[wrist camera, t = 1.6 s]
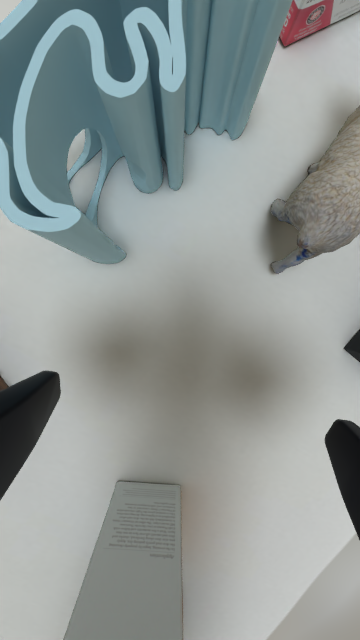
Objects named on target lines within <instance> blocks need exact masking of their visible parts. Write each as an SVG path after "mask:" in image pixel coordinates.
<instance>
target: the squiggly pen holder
mask: <svg viewBox="0 0 360 640" xmlns="http://www.w3.org/2000/svg"><path fill="white" fill-rule="evenodd" d="M292 1H293V0H22V1H21V2H20V3H19V4H18V6H17V7H16V8H15V9H14V10H13V11H12V12H11V13H10V14H9V15H8V16H7V17H6V18H5V19H4V20H3V21H2V22H1V23H0V208H1V210H2V211H3V213H4V214H5V215H6V216H7V218H8V219H9V220H10V221H11V222H13V223H15V224H17V225H18V226H20V227H22V228H25V229H27V230H29V231H31V232H33V233H35V234H37V235H39V236H41V237H44V238H46V239H48V240H50V241H52V242H54V243H56V244H58V245H60V246H63V247H65V248H67V249H69V250H71V251H73V252H75V253H77V254H79V255H82V256H84V257H86V258H88V259H90V260H92V261H94V262H97V263H104V264H113V263H118V262H120V261H122V260H123V259H124V258H125V257H126V253H125V252H124V251H123V250H122V249H121V248H120V247H119V246H117V245H115V244H114V243H113V241H112V240H111V239H110V238H109V237H108V236H107V235H105V234H104V233H103V232H102V231H101V230H100V229H99V228H98V227H97V206H98V200H99V196H100V192H101V189H102V186H103V184H104V181H105V179H106V177H107V175H108V172H109V170H110V169H111V167H112V166H113V165H114V163H115V162H116V161H117V160H118V159H119V158H120V157H122V156H125V157H126V160H127V163H128V166H129V170H130V174H131V177H132V179H133V182H134V184H135V186H136V187H137V188H138V189H139V190H140V191H142V192H144V193H152V192H155V191H156V190H157V189H158V188H159V187H160V186H161V184H162V180H163V169H162V161H161V157H162V158H163V159H164V161H165V162H166V164H167V168H168V179H169V186H170V188H171V189H173V190H178V189H179V188H180V186H181V184H182V182H183V161H184V131H185V132H186V133H187V134H191V133H193V132H194V130H195V128H196V126H197V124H198V122H199V127H200V128H208V127H210V128H212V129H214V130H215V132H216V133H217V134H218V135H221V134H222V133H223V131H224V130H227V131H228V133H229V135H230V138H231V139H232V140H235V139H236V138H238V137H239V136H240V135H241V134H242V132H243V130H244V128H245V126H246V124H247V121H248V118H249V116H250V113H251V110H252V108H253V105H254V102H255V100H256V97H257V94H258V92H259V89H260V86H261V84H262V81H263V78H264V76H265V73H266V70H267V68H268V65H269V62H270V60H271V57H272V54H273V52H274V49H275V46H276V44H277V41H278V38H279V36H280V33H281V30H282V28H283V25H284V22H285V20H286V17H287V14H288V12H289V9H290V6H291V4H292ZM83 129H85V145H84V149H83V152H82V154H81V155H80V157H79V158H78V160H77V161H76V162H75V164H74V165H73V167H72V168H71V169H70V170H69V171H68V172H67V158H68V151H69V148H70V145H71V143H72V141H73V139H74V137H75V136H76V135H77V134H78V133H79V132H80V131H82V130H83ZM101 148H102V159H101V168H100V173H99V178H98V181H97V184H96V187H95V190H94V193H93V196H92V199H91V201H90V203H89V206H88V209H87V211H86V213H85V215H84V214H83V213H82V212H81V211H80V210H79V209H78V208H76V207H75V205H74V202H73V199H72V195H71V192H70V188H69V182H70V180H71V178H72V177H73V175H74V174H75V173H76V172H77V171H78V170H79V169H80V168H81V167H82V166H83V165H84V164H86V163H87V162H88V161H89V160H90V159H91V158H92V157H93V156H95V155H96V154H97V153H98V152H99V151H100V149H101ZM73 170H74V171H73Z"/></svg>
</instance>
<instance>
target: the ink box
mask: <svg viewBox="0 0 360 640" xmlns="http://www.w3.org/2000/svg"><path fill="white" fill-rule="evenodd" d="M357 11H360V0H293V1H292V4H291V6H290V9H289V12H288V14H287V17H286V20H285V22H284V25H283V28H282V30H281V33H280V38H281V41H282V43H283V45H284V46H287V45H289V44H291V43H293V42H295V41H297V40H299V39H301V38H303V37H305V36H307V35H309V34H312V33H314V32H316V31H318V30H320V29H322V28H324V27H326V26H328V25H330V24H333V23H335V22H337V21H339V20H341V19H343V18H345V17H347V16H349V15H351V14H353V13H355V12H357Z"/></svg>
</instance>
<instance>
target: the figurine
mask: <svg viewBox="0 0 360 640" xmlns="http://www.w3.org/2000/svg"><path fill="white" fill-rule="evenodd" d="M308 174H309V175H308V176H307V178H306V179H305V180H304V181H303V182H302V183H301V184H300V185H299V186H298V188H297V189H296V190H295V191H294V192H293V193H292V194H291V196H290V197H289V199H288V200H287V201H286V204H285V202H284V201H283V200H282V199H276V200H275V201H274V202H273V203H272V206H271V207H272V209H271V212H272V214H273V215H274V216H276V217H277V218H278V220H279V221H286V222H287V223H289V224H293V225H294V226H295V227H296V228H297V229H298V230H299V231H300V232H299V234H298V238H297V245H298V246H299V247H298V248H297V249H296V250H294V251H293V252H292V253H290V254H289V255H288V256H287V257H285V258H284V259H282V260H281V261H279V262H277V261H275V262H273V263H272V264H271V266H272V267H273V269H274V272H275V273H276V274H279V273H281V272H283V271H284V270H285V269H286V268H288V267H291V266H295V265H298V264H300V263H302V262H303V261H304V260H308V259H311V258H314V257H316V256H318V255H320V254H322V253H327V252H333V251H335V250H337V249H339V248H341V247H343V246H345V245H347V244H349V243H350V242H351V241H352V240H353V239H354V238H355V237H356V236H357V235H358V234H359V233H360V106H359V107H358V108H357V109H356V110H355V111H354V112H353V113H352V114H351V115H350V116H349V117H348V119H347V120H346V122H345V124H344V125H343V127H342V128H341V130H340V131H339V133H338V135H337V138H336V139H335V140H334V142H333V143H332V144H331V145H330V147H329V148H328V150H327V151H326V153H325V155H324V156H323V157H322V158H321V160H320V162H319V163H317V164H312V165H310V166H309V168H308Z"/></svg>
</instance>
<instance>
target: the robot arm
mask: <svg viewBox="0 0 360 640" xmlns="http://www.w3.org/2000/svg"><path fill="white" fill-rule="evenodd" d="M60 394H61V390H60V378H59V374H58V373H57V372H53V371H42V372H40V373H38V374H36V375H33V376H31V377H29V378H27V379H25V380H23V381H21V382H19V383H16V384H14V385H12V386H10V387H8V388H6V389H4V390H1V391H0V500H1V499H2V497H3V496H4V494H5V492H6V491H7V489H8V488H9V486H10V485H11V483H12V481H13V480H14V478H15V477H16V475H17V474H18V472H19V471H20V469H21V467H22V466H23V464H24V463H25V461H26V460H27V458H28V456H29V455H30V453H31V452H32V450H33V448H34V447H35V445H36V443H37V441H38V439H39V437H40V435H41V433H42V432H43V430H44V428H45V426H46V424H47V422H48V420H49V418H50V416H51V414H52V412H53V410H54V408H55V406H56V404H57V402H58V400H59V398H60ZM325 444H326V448H327V451H328V454H329V457H330V460H331V464H332V467H333V470H334V473H335V476H336V480H337V483H338V486H339V489H340V492H341V495H342V498H343V500H344V503H345V505H346V508H347V510H348V513H349V515H350V518H351V520H352V523H353V525H354V528H355V530H356V532H357V535H358V537H359V540H360V427H359V426H357V425H356V424H355V423H353V422H351V421H347V420H341V419H337V420H336V421H335V422H334V423H333V425H332V426H331V428H330V429H329V431H328V432H327V434H326V436H325Z"/></svg>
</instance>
